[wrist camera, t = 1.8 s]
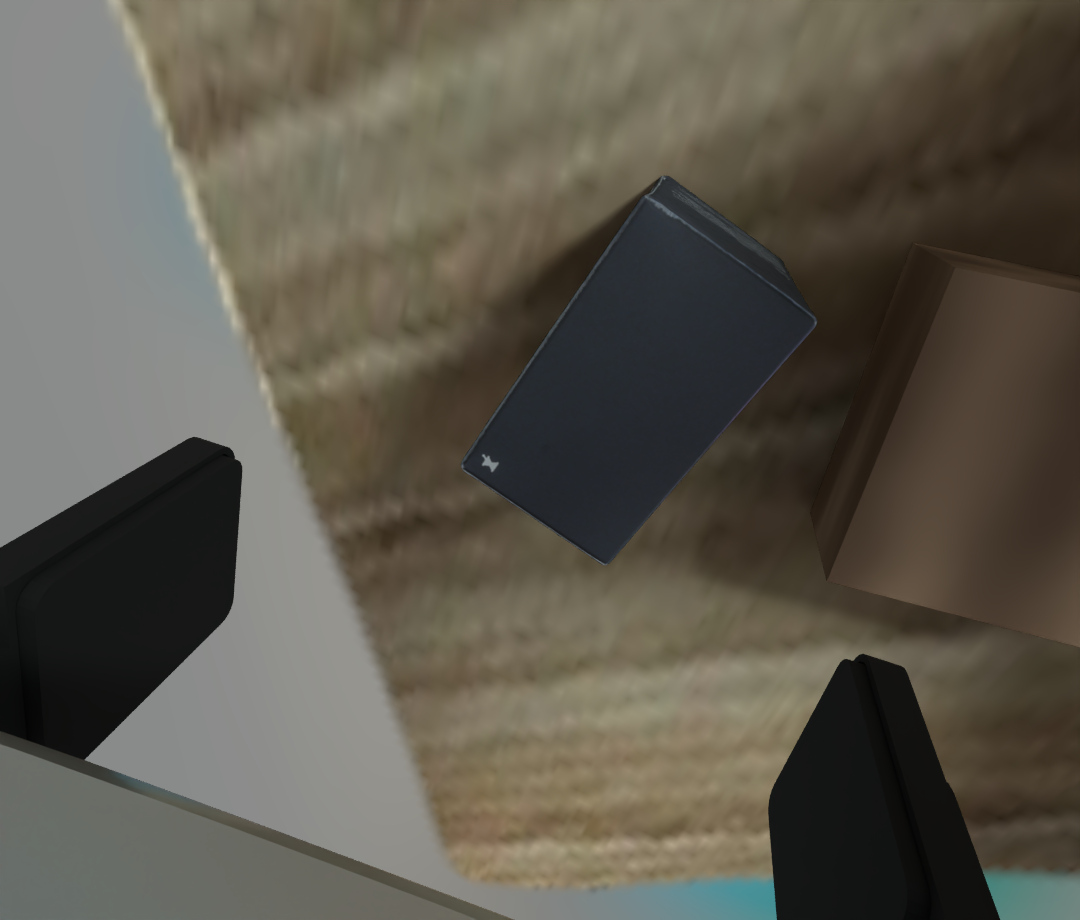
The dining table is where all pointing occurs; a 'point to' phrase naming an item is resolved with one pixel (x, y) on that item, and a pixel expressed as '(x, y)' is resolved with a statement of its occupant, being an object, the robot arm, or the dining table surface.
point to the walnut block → (965, 449)
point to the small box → (641, 372)
